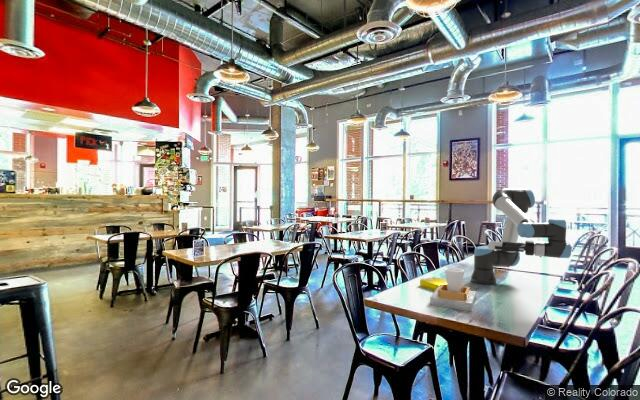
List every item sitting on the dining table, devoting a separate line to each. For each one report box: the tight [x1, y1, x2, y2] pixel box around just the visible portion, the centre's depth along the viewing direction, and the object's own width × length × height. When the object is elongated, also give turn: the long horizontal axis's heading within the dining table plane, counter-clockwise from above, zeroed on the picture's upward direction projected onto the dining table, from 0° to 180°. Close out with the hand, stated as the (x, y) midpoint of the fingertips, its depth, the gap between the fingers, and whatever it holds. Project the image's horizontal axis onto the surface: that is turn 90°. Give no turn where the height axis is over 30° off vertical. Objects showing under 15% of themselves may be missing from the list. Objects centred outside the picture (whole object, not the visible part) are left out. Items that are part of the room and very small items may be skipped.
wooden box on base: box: [429, 284, 477, 312], centre depth 185 cm, size 24×20×7 cm
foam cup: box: [444, 267, 465, 293], centre depth 185 cm, size 10×9×13 cm
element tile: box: [419, 276, 447, 292], centre depth 213 cm, size 15×15×5 cm
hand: (488, 245), depth 189 cm, fingers open, 13 cm apart
